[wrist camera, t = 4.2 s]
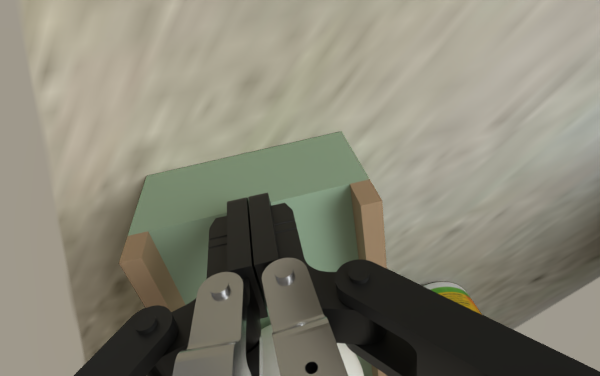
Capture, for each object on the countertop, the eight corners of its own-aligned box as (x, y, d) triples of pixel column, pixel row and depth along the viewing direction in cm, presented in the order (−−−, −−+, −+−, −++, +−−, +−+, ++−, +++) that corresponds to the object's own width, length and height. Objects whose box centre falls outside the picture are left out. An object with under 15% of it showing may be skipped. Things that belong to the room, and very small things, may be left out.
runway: (341, 131, 19) (382, 201, 14) (371, 377, 32) (399, 461, 27) (146, 175, 19) (119, 263, 14) (254, 407, 31) (259, 498, 26)
